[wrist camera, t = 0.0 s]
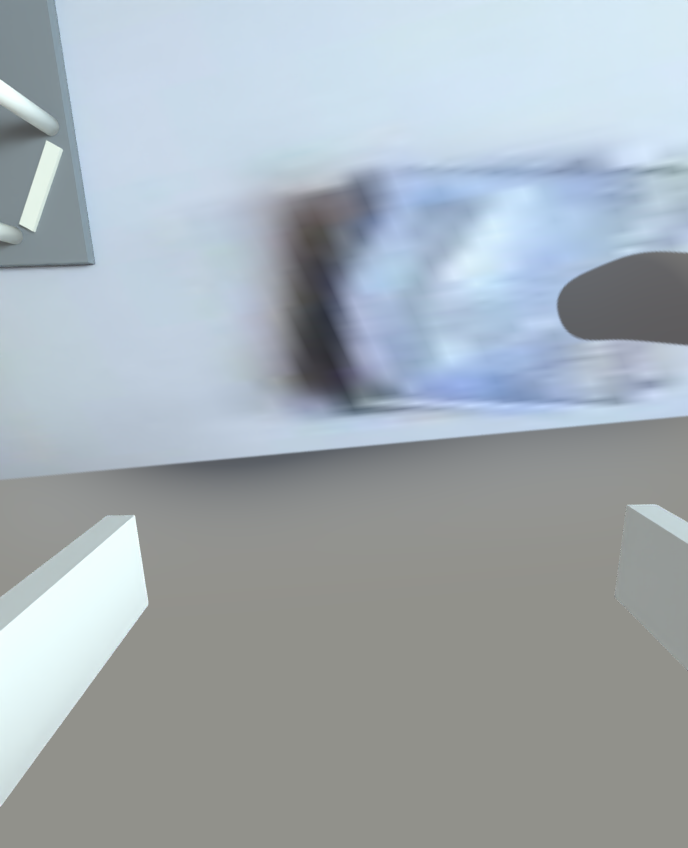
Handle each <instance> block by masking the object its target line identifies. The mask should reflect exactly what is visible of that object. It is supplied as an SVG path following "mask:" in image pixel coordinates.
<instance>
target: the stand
mask: <svg viewBox="0 0 688 848" xmlns="http://www.w3.org/2000/svg"><path fill="white" fill-rule="evenodd" d="M83 264H95V259H94V253H93V246H92V240H91V233H90V227H89V220H88V214H87V208H86V201H85V195H84V188H83V182H82V175H81V169H80V162H79V156H78V149H77V143H76V137H75V130H74V124H73V117H72V111H71V104H70V98H69V91H68V85H67V78H66V72H65V65H64V59H63V53H62V46H61V40H60V33H59V27H58V20H57V14H56V7H55V1H54V0H0V267H22V266H53V265H83Z"/></svg>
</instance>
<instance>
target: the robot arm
mask: <svg viewBox="0 0 688 848" xmlns="http://www.w3.org/2000/svg"><path fill="white" fill-rule="evenodd" d="M615 598H616V599H617V600H618V601H619V602H620V603H621V604H622V605H623V606H624V607H625V608H626V609H627V610H628V611H629V612H630V613H631V614H632V615H633V616H634V617H635V618H636V619H637V620H638V621H639V622H640V623H641V624H642V625H643V626H644V627H645V628H646V629H647V630H648V631H649V632H650V633H651V634H652V635H653V636H654V637H655V638H656V639H657V640H658V641H659V643H661V644H662V646H663V647H664V648H665V649H666V650H667V651H668V652H669V653H670V654H672V656H673V657H675V659H676V660H677V661H678V662H679V663H680V664H681V665H682V666H683V667H684V668H685V669H686V670H687V671H688V522H686V521H684V520H683V519H681V518H679V517H677V516H676V515H674V514H672V513H670V512H669V511H667V510H665V509H664V508H662V507H660V506H658V505H656V504H651V505H650V504H649V505H627V508H626V515H625V523H624V530H623V538H622V545H621V552H620V560H619V567H618V574H617V582H616V589H615ZM147 606H148V598H147V592H146V585H145V578H144V572H143V565H142V559H141V552H140V546H139V540H138V533H137V527H136V521H135V515H113V516H106V517H104V518H103V519H102V520H100V521H99V522H98V523H96V524H95V525H94V526H93V527H91V528H90V529H89V530H87V531H86V532H85V533H83V534H82V535H81V536H80V537H78V538H77V539H76V540H74V541H73V542H72V543H70V544H69V545H68V546H66V547H65V548H64V549H63V550H61V551H60V552H59V553H58V554H56V555H55V556H54V557H52V558H51V559H50V560H48V561H47V562H46V563H45V564H43V565H42V566H40V567H39V568H38V569H36V570H35V571H34V572H33V573H31V574H30V575H29V576H27V577H26V578H25V579H23V580H22V581H21V582H20V583H18V584H17V585H16V586H14V587H13V588H12V589H11V590H9V591H8V592H7V593H5V594H4V595H3V596H1V597H0V807H1V805H2V804H3V803H4V801H5V800H6V798H7V797H8V796H9V794H10V793H11V792H12V790H13V789H14V788H15V786H16V784H17V783H18V782H19V781H20V779H21V778H22V776H23V775H24V774H25V772H26V771H27V770H28V768H29V767H30V766H31V764H32V763H33V762H34V760H35V759H36V757H37V756H38V755H39V753H40V752H41V750H42V749H43V748H44V747H45V745H46V744H47V742H48V741H49V740H50V738H51V737H52V736H53V734H54V733H55V731H56V730H57V729H58V727H59V726H60V725H61V723H62V722H63V721H64V719H65V718H66V716H67V715H68V714H69V712H70V711H71V710H72V708H73V707H74V706H75V704H76V703H77V701H78V700H79V699H80V697H81V696H82V695H83V693H84V692H85V690H86V689H87V688H88V686H89V685H90V684H91V682H92V681H93V680H94V678H95V677H96V675H97V674H98V672H99V671H100V670H101V669H102V667H103V666H104V664H105V663H106V662H107V660H108V659H109V658H110V656H111V655H112V654H113V652H114V651H115V650H116V648H117V647H118V645H119V644H120V643H121V641H122V640H123V639H124V637H125V636H126V634H127V633H128V632H129V630H130V629H131V628H132V626H133V625H134V624H135V622H136V621H137V619H138V618H139V617H140V615H141V614H142V612H143V611H144V610H145V609H146V607H147Z"/></svg>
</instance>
